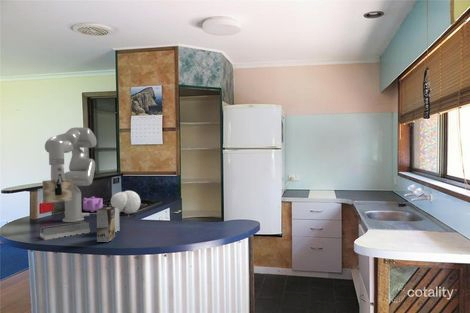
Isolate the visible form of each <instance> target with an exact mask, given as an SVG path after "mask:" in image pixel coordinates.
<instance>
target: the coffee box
mask: <svg viewBox="0 0 470 313" xmlns="http://www.w3.org/2000/svg"><path fill="white" fill-rule="evenodd" d="M114 237H115V238H116V233H115V207H112V206H103V207H102V208H100V209H97V210H96V243H97V242H109V241H111V240H112V239H113V238H114ZM115 238H114V239H115ZM114 239H113V240H114ZM113 240H112V241H113ZM112 241H111V242H112ZM109 243H110V242H109Z"/></svg>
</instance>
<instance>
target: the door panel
mask: <svg viewBox="0 0 470 313" xmlns="http://www.w3.org/2000/svg"><path fill="white" fill-rule="evenodd" d="M61 181H62V180H61ZM55 188H56V183H55V182H54V180H51V179H49V180H48V179H47V180H42V203H44V204H48V203H58V202H59V203H60V202H65V201H69V200H72V185H71V179H65V181H64V182H63V181H62V195H55Z"/></svg>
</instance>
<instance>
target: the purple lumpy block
mask: <svg viewBox="0 0 470 313" xmlns="http://www.w3.org/2000/svg"><path fill="white" fill-rule="evenodd" d="M82 203H83V204H82V210H83V211H89V212H90V213H91V212H93V213H94V212H95V211H96V212H97V209H100V208H102V207H104V204H103V198H100V197H96V196H90V197H89V198H87V197H83V199H82Z"/></svg>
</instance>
